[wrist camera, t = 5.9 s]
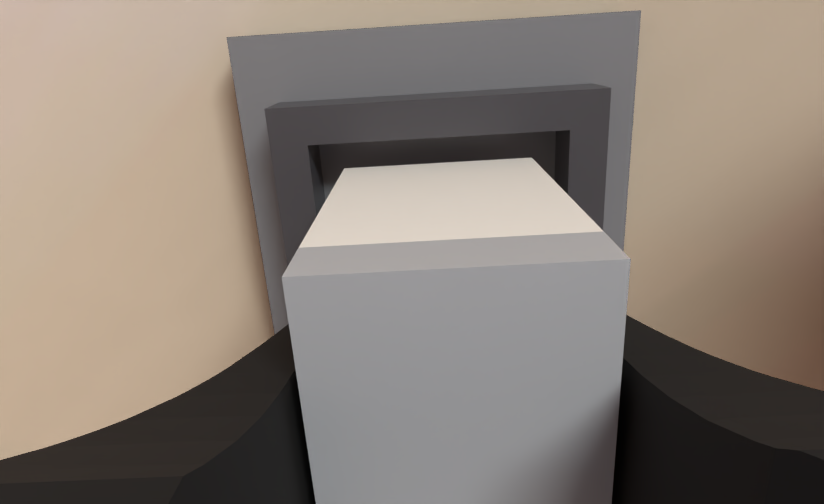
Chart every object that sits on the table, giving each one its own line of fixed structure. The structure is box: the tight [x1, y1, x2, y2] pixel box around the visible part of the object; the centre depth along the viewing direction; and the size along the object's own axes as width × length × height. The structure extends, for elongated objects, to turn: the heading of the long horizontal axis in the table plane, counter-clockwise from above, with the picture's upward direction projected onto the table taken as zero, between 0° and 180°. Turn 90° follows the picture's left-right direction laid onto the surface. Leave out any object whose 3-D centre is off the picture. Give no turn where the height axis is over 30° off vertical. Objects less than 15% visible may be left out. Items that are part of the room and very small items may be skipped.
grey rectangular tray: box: [227, 10, 641, 334], centre depth 15 cm, size 9×20×5 cm, turn 3°
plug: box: [282, 158, 631, 504], centre depth 10 cm, size 4×6×6 cm, turn 3°
